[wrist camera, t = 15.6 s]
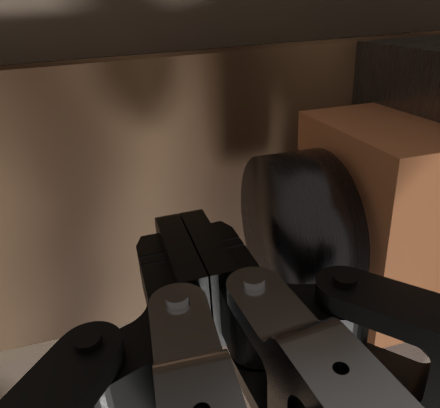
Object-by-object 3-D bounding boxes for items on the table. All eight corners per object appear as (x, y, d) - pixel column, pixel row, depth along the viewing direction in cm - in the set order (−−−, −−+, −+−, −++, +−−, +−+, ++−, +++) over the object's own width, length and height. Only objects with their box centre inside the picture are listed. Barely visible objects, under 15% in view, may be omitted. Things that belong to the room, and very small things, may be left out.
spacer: (294, 255, 17) (373, 350, 12) (298, 111, 15) (399, 159, 10) (359, 242, 18) (458, 328, 13) (373, 102, 15) (504, 143, 10)
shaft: (242, 261, 16) (297, 355, 12) (238, 136, 14) (304, 195, 10) (496, 211, 19) (618, 273, 14) (526, 99, 16) (681, 132, 12)
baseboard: (-57, 340, 18) (-69, 366, 17) (-175, 79, 13) (-205, 87, 12) (427, 240, 23) (447, 254, 22) (469, 28, 18) (497, 29, 17)
